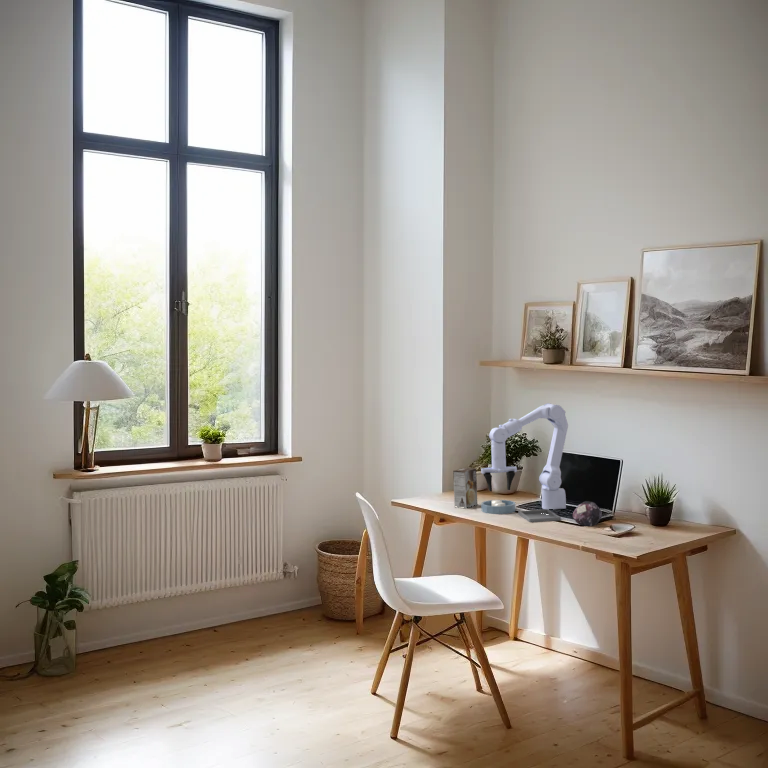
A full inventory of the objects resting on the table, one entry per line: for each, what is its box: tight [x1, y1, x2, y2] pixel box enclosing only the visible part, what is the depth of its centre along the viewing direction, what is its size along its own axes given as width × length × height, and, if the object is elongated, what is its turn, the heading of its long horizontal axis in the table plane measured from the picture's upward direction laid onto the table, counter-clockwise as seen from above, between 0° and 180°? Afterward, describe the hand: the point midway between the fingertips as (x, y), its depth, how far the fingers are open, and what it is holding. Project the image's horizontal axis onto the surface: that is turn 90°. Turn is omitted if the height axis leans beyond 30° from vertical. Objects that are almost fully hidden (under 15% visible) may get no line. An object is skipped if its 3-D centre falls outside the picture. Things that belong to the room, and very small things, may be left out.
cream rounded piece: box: [495, 502, 505, 506], centre depth 356 cm, size 4×4×3 cm
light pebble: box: [491, 499, 502, 506], centre depth 361 cm, size 4×4×3 cm
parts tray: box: [518, 509, 561, 523], centre depth 343 cm, size 12×15×2 cm
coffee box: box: [453, 467, 478, 509], centre depth 374 cm, size 9×6×16 cm
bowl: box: [480, 499, 517, 515], centre depth 359 cm, size 14×14×4 cm
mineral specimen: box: [572, 500, 603, 527], centre depth 329 cm, size 10×10×10 cm
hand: (499, 490), depth 355 cm, fingers open, 7 cm apart
